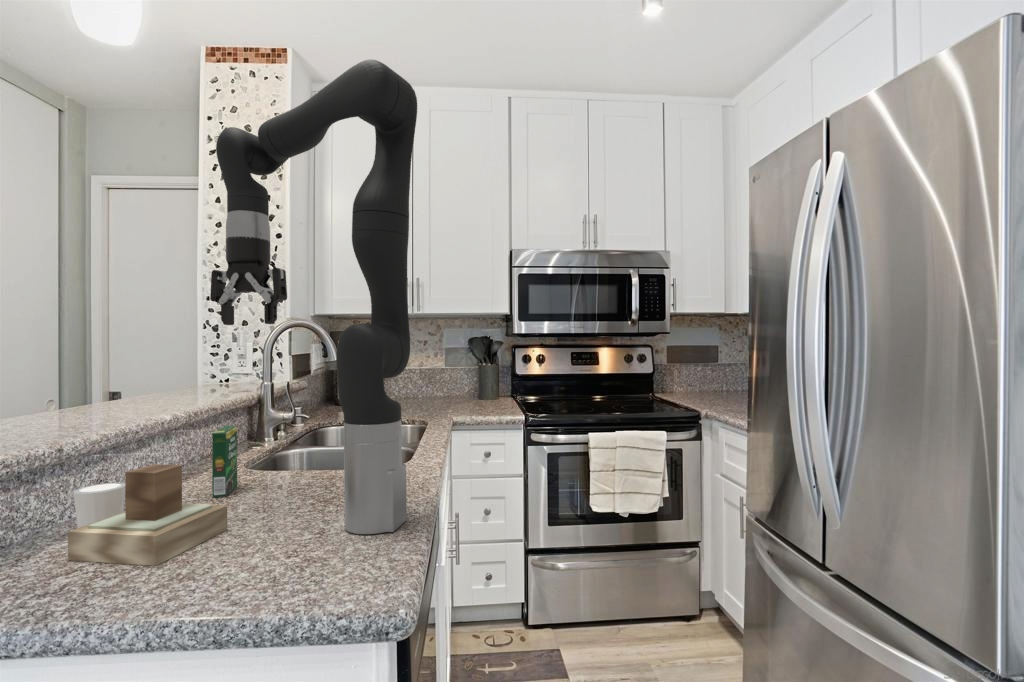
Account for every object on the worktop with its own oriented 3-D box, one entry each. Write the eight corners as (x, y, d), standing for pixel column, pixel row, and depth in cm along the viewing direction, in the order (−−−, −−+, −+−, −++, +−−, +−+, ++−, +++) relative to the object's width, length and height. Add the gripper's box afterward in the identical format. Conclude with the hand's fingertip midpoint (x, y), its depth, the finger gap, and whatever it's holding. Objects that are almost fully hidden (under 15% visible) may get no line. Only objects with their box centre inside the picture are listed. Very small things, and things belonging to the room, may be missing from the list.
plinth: (227, 529, 85) (227, 502, 85) (155, 565, 71) (155, 533, 71) (152, 526, 87) (151, 499, 87) (68, 560, 73) (68, 528, 73)
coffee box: (227, 497, 103) (226, 431, 103) (211, 498, 103) (210, 432, 103) (238, 486, 111) (238, 425, 111) (223, 487, 111) (223, 426, 111)
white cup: (130, 520, 90) (130, 479, 90) (120, 533, 84) (120, 489, 84) (81, 526, 87) (80, 484, 87) (66, 540, 81) (66, 495, 81)
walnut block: (182, 510, 81) (181, 465, 81) (155, 520, 76) (155, 472, 76) (153, 509, 82) (153, 464, 82) (125, 519, 77) (125, 472, 77)
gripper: (294, 241, 101) (295, 324, 101) (227, 244, 103) (228, 325, 103) (270, 233, 94) (271, 323, 94) (199, 236, 96) (200, 324, 96)
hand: (248, 324), depth 98 cm, fingers open, 8 cm apart
